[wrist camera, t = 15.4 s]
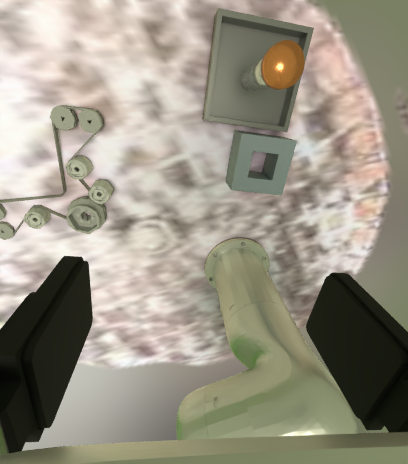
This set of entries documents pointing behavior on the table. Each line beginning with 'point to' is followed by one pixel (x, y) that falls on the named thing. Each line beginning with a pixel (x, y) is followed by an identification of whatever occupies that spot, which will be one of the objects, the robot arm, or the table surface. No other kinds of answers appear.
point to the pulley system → (76, 170)
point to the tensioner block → (273, 167)
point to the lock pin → (276, 68)
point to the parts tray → (237, 60)
